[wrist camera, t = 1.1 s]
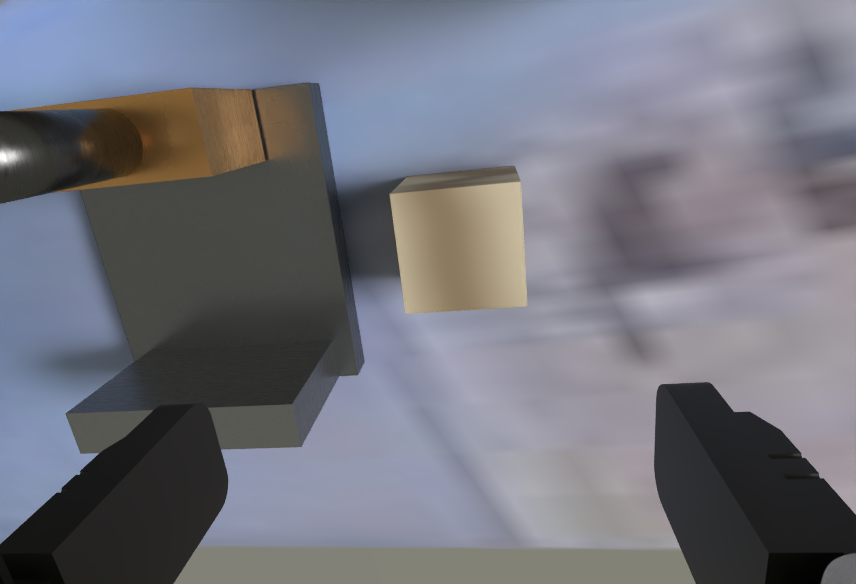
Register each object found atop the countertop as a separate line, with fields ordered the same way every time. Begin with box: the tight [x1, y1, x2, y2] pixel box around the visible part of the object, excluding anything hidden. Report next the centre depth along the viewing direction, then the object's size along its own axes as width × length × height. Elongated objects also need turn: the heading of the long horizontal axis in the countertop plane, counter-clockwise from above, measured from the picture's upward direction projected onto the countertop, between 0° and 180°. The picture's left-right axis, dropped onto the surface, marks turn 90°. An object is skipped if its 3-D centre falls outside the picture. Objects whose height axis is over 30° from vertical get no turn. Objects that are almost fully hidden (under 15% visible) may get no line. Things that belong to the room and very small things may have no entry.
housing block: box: [390, 166, 527, 314], centre depth 24 cm, size 5×5×5 cm
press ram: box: [0, 88, 266, 204], centre depth 19 cm, size 7×3×11 cm, turn 96°
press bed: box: [66, 83, 364, 454], centre depth 24 cm, size 12×14×8 cm
